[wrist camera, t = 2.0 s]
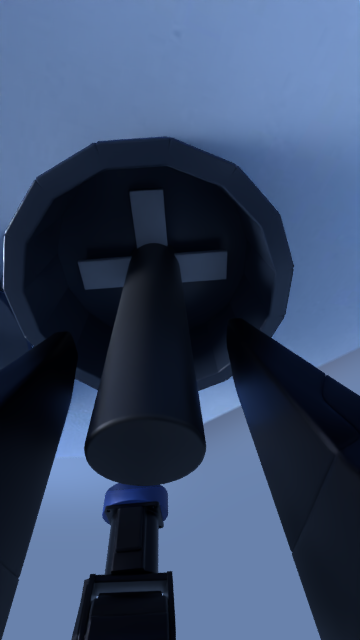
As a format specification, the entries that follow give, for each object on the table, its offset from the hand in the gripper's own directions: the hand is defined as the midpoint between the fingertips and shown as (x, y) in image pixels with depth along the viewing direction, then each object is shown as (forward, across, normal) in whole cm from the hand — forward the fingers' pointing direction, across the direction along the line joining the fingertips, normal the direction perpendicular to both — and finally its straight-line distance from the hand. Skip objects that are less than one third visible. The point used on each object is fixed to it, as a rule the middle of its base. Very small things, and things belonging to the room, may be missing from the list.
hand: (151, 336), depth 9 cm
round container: (+6, 0, 0) cm, 6 cm away
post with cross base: (+6, 0, 0) cm, 6 cm away
